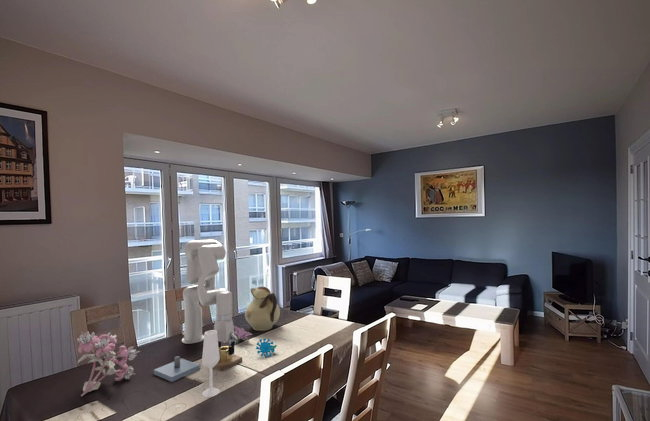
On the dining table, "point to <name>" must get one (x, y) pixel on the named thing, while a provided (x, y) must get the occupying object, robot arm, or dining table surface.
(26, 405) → the dining table surface
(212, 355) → the champagne flute
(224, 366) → the rod stand
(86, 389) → the flower
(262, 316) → the pitcher
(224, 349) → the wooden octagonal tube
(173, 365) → the hub plate
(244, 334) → the lily
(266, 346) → the gear
